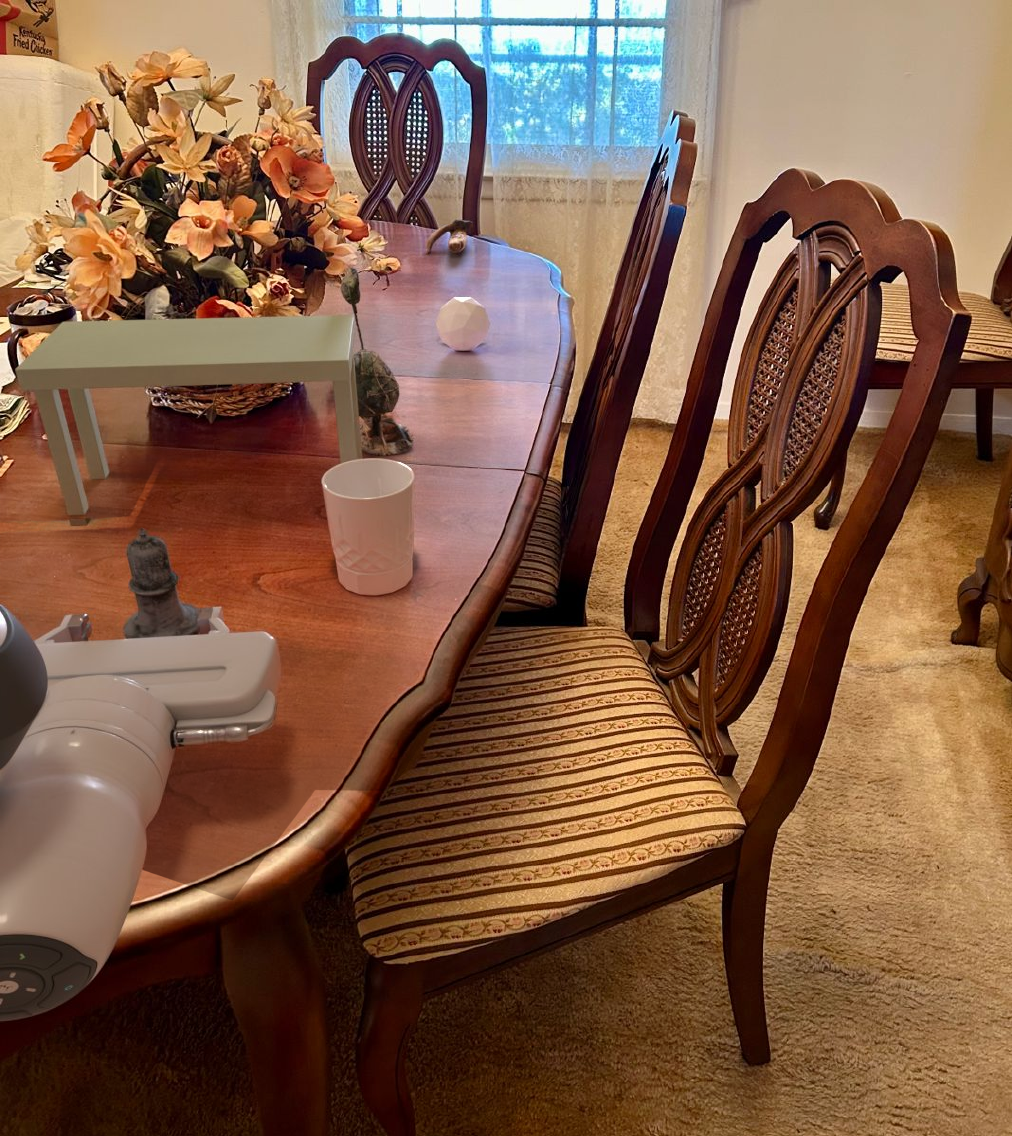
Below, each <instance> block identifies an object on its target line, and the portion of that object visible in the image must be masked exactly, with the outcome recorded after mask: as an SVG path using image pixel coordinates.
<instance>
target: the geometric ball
mask: <svg viewBox="0 0 1012 1136" xmlns="http://www.w3.org/2000/svg"><path fill="white" fill-rule="evenodd" d="M490 322H491V321H490V319H489V316H488V314H487V310H486V308H485V306H484V305H482V304H481V303H479V302H478V301H477V300H475V299H474V298H472V297H470V296H469V297H467V296H466V297H464V296H463V297H461V296H459V297H456V296H455V297H452V298H451V299H450V300H449V301H447V302H446V303H445V304H443V305H442V306H441V307H440V308H439V311H438V315H437V319H436V321H435V326H436V329H437V332H438V335H439V338H440V341H441V342H442V343H444V344H445V345H446V346H448V347H450V348H451V349H452V350H454V351H473V350H475V349H476V348H477V347H478V346H479V345H481V344H482V343H484V342H485V341H486V338H487V336H488V332H489V329H490V326H491V323H490Z"/></svg>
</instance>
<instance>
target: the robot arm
mask: <svg viewBox="0 0 1012 1136" xmlns="http://www.w3.org/2000/svg"><path fill="white" fill-rule="evenodd" d="M199 610H200V613H199V614H198V618H197V622H198V627H199V628H200V632H199V635H185V636H168V637H151V638H133V639H126V638H120V639H119V638H118V639H117V638H116V639H101V640H100V639H99V640H89V638H91V637H92V633H93V628H92V624H91V623H90V622H89V621H90V616H89V614H86V613H82V614H81V613H79V614H65V615H64V616H63V619H62V620H61V622H60V624H59V626H57V627H54V628H53V629H51V630H50V631H48V632H46V633H45V634H43V635H41V636H40V637H37V638H36V639H33V638H32V636H31V635H30V633H29V632H28V630H27V629H26V628H25V627H24V625H23V624H22V623H21V622H20V621H19V619H18V618H17V617H16V616H15V615H14V614H13V613H12V612H10V610H9V609H8V608H7V607H5V606H3V604H1V603H0V1022H8V1021H16V1020H21V1019H26V1018H29V1017H34V1016H38V1015H41V1014H44V1013H47V1012H49V1011H51V1010H53V1009H56V1008H57V1007H58V1008H59V1007H60V1006H62V1005H64V1004H65V1003H67V1002H68V1001H70V1000H71V999H73V998H74V997H76V996H77V995H79V994H80V993H81V992H82V991H83V990H84V989H85V988H86V987H87V986H88V985H89V984H90V983H91V982H92V981H93V980H94V979H95V977H96V976H97V975H98V974H99V972H100V971H101V969H102V968H103V967H104V965H105V963H106V962H107V961H108V959H109V957H110V955H111V953H112V951H113V950H114V948H115V945H116V943H117V941H118V939H119V937H120V934H121V932H122V929H123V927H124V925H125V922H126V919H127V916H128V914H129V912H130V909H131V905H132V902H133V900H134V897H135V894H136V891H137V889H138V884H139V881H140V878H141V875H142V870H143V868H144V864H145V860H146V855H147V850H148V841H147V833H146V832H147V828H148V826H149V825H150V824H151V822H152V821H153V820H154V818H155V816H156V815H157V813H158V810H159V809H160V805H161V803H162V799H163V796H164V792H165V789H166V785H167V781H168V778H169V774H170V771H171V768H172V765H173V761H174V756H175V753H176V749H177V748H186V747H187V748H188V747H199V746H207V745H211V744H222V743H226V744H241V743H243V742H244V743H245V742H249V740H250V737H251V736H255V735H259V734H260V733H263V732H264V731H267V730H269V729H271V728H272V727H273V725H274V724H275V720H276V717H277V712H278V711H277V710H278V705H279V704H278V703H279V702H278V699H277V694H278V692H279V688H280V684H281V681H282V675H283V674H282V673H283V670H282V660H281V654H280V647H279V644H278V641H277V639H276V638H275V637H274V636H272V635H271V634H270V633H269V632H267V631H263V630H255V631H239V632H231V630H230V628H229V627H228V626H227V625H226V623H225V617H224V612H223V607H222V606H212V607H200V608H199Z"/></svg>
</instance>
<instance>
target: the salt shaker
mask: <svg viewBox="0 0 1012 1136" xmlns="http://www.w3.org/2000/svg"><path fill="white" fill-rule="evenodd" d="M147 534H148V530H146V529H145V528H143V527H140V528H139V530H138V532H137V535H138V537H136V538H133V540H131V541H130V542H129V543H128V545H127V546H126V549H125V551H126V558H127V563H128V567H129V571H130V575H131V579H130V580H129V582H128V590H130V592H132V593H133V594H134V596H135V600H136V604H137V611H136V612H134V613H133V614H132V615H131V616H130V617H129V618H128V619H127V620H126V621H125V623H124V625H123V626H122V627H123V628H122V634H123V635H124V639H133V638H151V637H168V636H185V635H200V629H201V628H199V627H198V622H197V618H198V614H199V613H200V608H197V607H196V606H195V605H193V604H190V603H187V602H182V601H180V597H179V593H178V588H177V585H178V583H179V581H180V578H179V575H178V573H176V572H175V571H174V570H172V565H171V561H170V560H171V559H170V557H169V551H168V548H167V547H168V546H167V545H166V542H165V541H164V540H162V538H160V537H158V536H154V535H147Z"/></svg>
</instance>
